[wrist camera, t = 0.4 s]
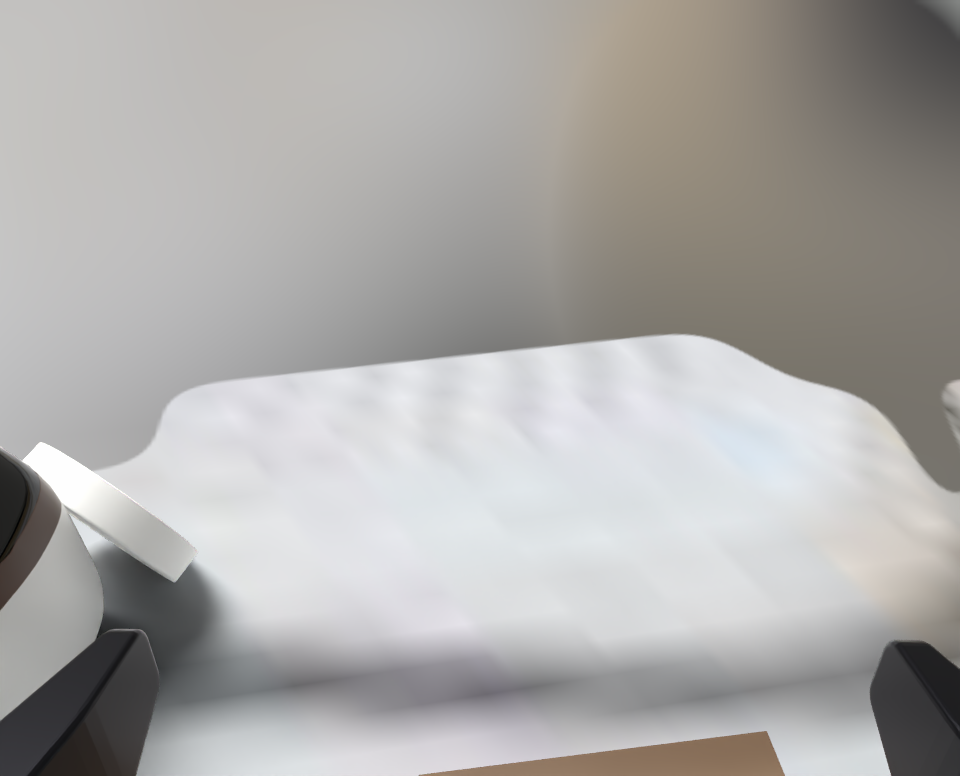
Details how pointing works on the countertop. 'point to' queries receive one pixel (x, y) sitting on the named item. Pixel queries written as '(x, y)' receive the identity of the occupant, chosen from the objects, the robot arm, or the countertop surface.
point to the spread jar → (63, 562)
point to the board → (654, 761)
